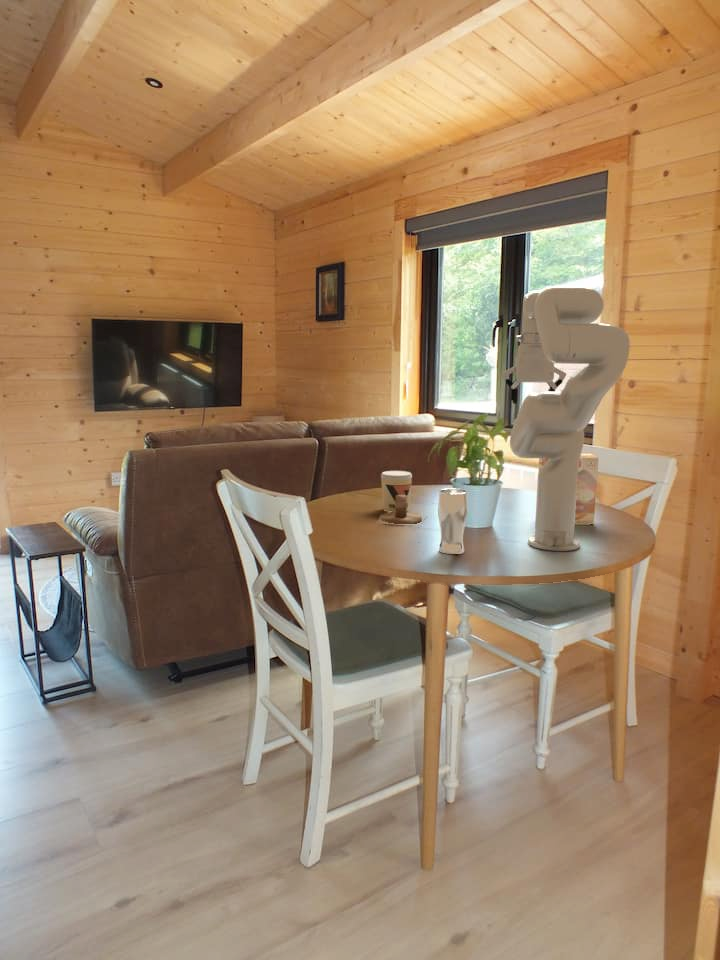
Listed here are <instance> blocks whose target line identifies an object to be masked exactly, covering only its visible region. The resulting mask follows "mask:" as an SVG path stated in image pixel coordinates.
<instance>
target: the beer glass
mask: <svg viewBox="0 0 720 960" xmlns="http://www.w3.org/2000/svg"><path fill="white" fill-rule="evenodd" d="M437 502H438V505H437V507H438V509H437V512H438V513H437V514H438V516H437V517H438V522H439V523H438V524H439V529H440V543H439V547H438V552H439V551H440V552H442V553H441V554H443V553H446V554H445V555H447V554H459V555H462V554H464V553H465V547H464V531H465V526H466V522H467V515H468V490H466V489H461V488H441V489H440V490H439V493H438V501H437ZM440 552H439V553H440Z"/></svg>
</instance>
